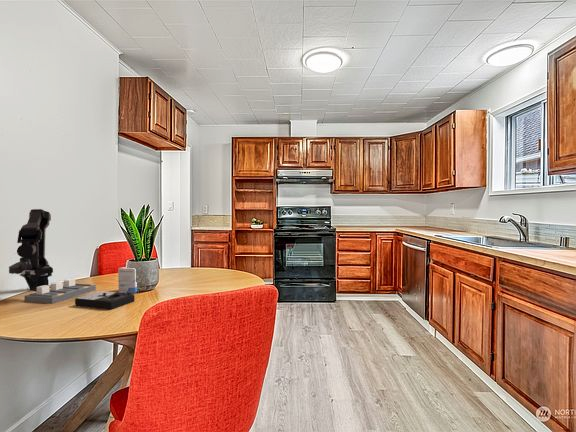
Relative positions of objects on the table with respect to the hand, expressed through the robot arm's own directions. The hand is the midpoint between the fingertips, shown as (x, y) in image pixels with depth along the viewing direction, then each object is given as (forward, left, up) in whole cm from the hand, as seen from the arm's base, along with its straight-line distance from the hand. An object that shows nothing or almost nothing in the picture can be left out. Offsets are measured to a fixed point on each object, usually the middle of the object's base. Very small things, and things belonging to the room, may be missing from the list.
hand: (31, 288), depth 156 cm
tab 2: (+7, +7, -1) cm, 10 cm away
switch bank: (+10, +7, -4) cm, 12 cm away
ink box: (+36, +20, -4) cm, 41 cm away
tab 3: (+7, +14, -1) cm, 15 cm away
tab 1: (+7, 0, -1) cm, 7 cm away
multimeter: (+40, 0, -5) cm, 40 cm away
